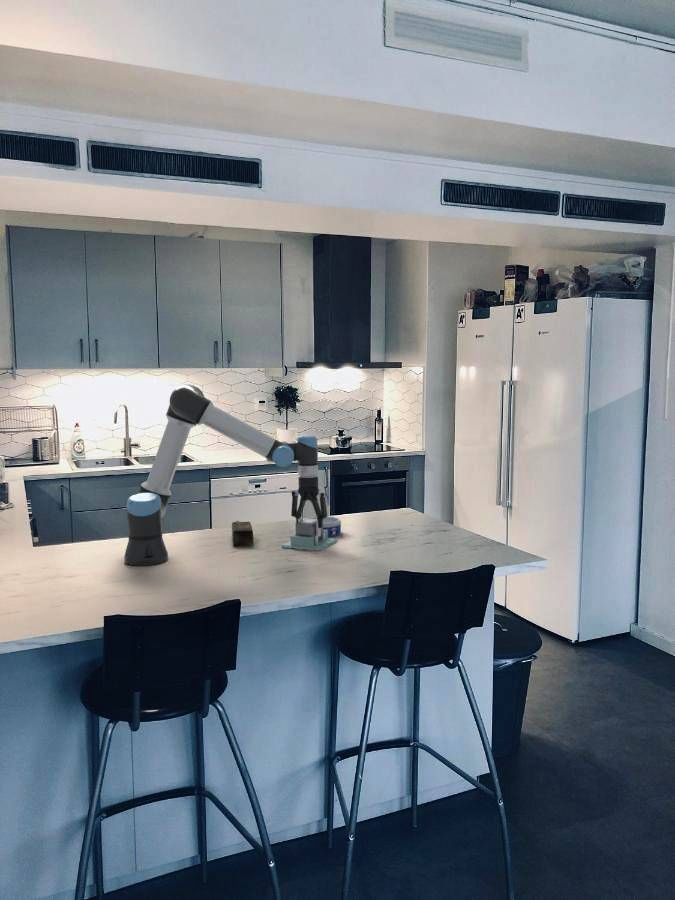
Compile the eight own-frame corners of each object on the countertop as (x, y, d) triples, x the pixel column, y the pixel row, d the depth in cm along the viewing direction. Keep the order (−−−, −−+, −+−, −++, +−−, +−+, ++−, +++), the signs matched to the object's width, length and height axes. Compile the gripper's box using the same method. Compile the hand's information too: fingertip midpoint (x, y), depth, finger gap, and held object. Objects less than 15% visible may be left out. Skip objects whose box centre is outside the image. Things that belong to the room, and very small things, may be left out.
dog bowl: (323, 528, 308) (323, 514, 307) (348, 533, 297) (348, 519, 296) (296, 534, 298) (295, 519, 297) (320, 540, 286) (320, 525, 286)
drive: (308, 533, 284) (308, 517, 283) (323, 534, 281) (322, 519, 280) (295, 538, 275) (295, 522, 274) (310, 540, 272) (310, 524, 272)
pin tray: (281, 547, 274) (281, 536, 274) (299, 538, 289) (299, 527, 288) (320, 551, 268) (320, 539, 268) (336, 541, 283) (336, 530, 282)
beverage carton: (251, 535, 297) (251, 519, 296) (253, 546, 278) (253, 529, 277) (231, 536, 295) (231, 520, 295) (232, 547, 277) (232, 530, 276)
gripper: (280, 476, 276) (282, 535, 278) (328, 478, 268) (329, 539, 271) (289, 473, 283) (290, 531, 285) (335, 475, 275) (337, 535, 278)
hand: (309, 535), depth 278 cm, fingers closed on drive, 7 cm apart
